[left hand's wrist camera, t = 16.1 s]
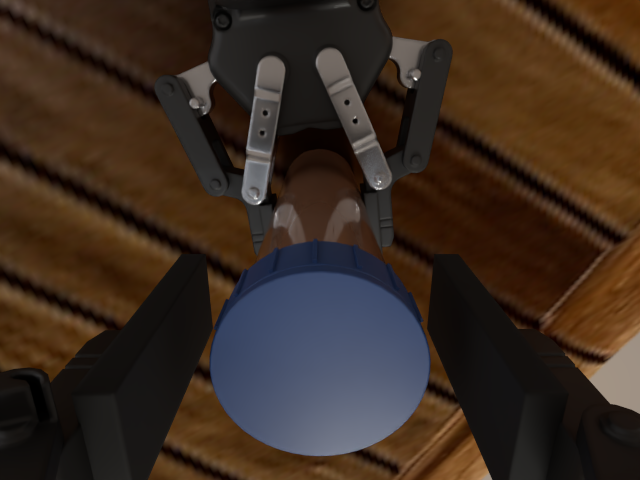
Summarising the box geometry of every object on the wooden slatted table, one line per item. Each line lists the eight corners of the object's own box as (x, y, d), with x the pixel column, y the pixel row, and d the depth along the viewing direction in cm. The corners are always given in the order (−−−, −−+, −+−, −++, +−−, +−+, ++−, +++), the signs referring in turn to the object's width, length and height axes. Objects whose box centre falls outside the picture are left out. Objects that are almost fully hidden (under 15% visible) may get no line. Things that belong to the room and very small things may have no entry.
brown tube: (330, 228, 30) (347, 454, 12) (272, 194, 29) (195, 381, 11) (368, 172, 29) (450, 331, 11) (308, 134, 28) (286, 236, 10)
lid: (454, 299, 12) (478, 339, 10) (348, 431, 13) (353, 486, 12) (284, 201, 11) (276, 225, 9) (192, 355, 12) (170, 402, 11)
